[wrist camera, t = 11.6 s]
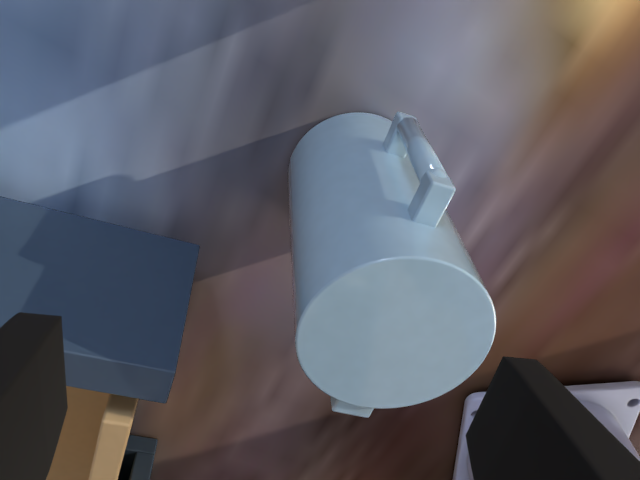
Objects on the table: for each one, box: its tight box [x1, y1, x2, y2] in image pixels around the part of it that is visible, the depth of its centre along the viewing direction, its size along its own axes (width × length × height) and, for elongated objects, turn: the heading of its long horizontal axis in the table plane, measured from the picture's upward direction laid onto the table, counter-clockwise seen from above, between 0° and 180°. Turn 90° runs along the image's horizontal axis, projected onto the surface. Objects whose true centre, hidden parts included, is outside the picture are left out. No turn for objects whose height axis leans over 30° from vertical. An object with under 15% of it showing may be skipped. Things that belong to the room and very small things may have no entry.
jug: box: [288, 112, 496, 418], centre depth 16 cm, size 6×4×8 cm
